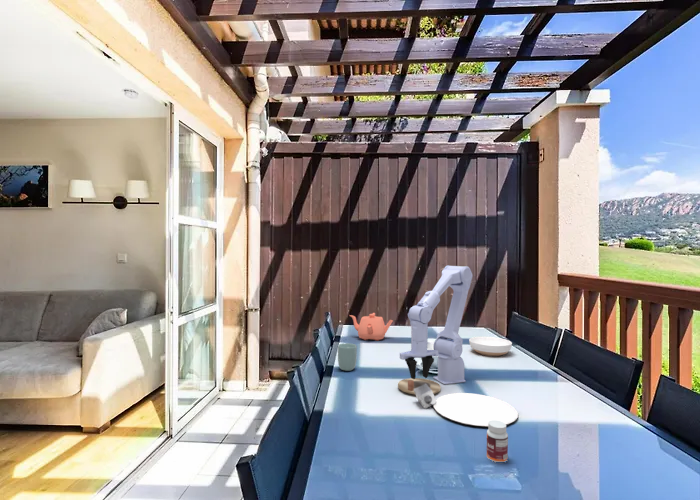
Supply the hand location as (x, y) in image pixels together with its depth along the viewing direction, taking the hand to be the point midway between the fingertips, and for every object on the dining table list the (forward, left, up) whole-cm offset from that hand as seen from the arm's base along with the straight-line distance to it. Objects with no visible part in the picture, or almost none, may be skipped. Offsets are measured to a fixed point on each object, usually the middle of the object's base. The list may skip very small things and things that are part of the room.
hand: (419, 377), depth 140 cm
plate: (-7, +22, -5) cm, 24 cm away
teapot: (-14, -80, -4) cm, 81 cm away
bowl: (-57, -33, -4) cm, 66 cm away
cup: (+17, -30, -4) cm, 35 cm away
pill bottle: (+5, +47, -4) cm, 47 cm away
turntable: (0, 0, -4) cm, 4 cm away
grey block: (+4, +10, -1) cm, 11 cm away
